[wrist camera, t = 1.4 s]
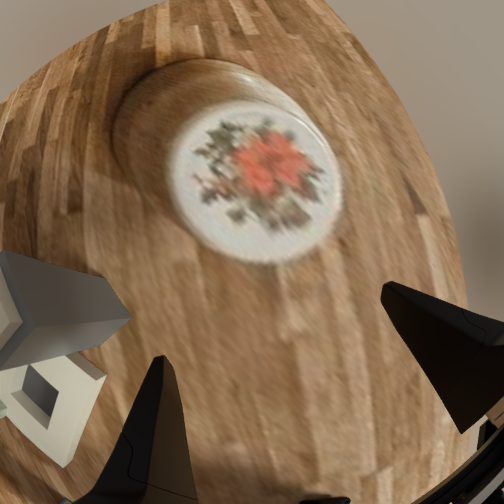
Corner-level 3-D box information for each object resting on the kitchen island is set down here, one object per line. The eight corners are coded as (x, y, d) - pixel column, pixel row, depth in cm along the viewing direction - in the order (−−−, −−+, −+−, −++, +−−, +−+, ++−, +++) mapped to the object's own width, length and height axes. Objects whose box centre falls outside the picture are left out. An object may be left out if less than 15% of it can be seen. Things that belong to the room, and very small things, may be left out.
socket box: (107, 374, 21) (87, 385, 17) (72, 459, 18) (56, 474, 14) (9, 285, 21) (-13, 281, 17) (-14, 373, 18) (-34, 377, 14)
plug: (132, 317, 22) (22, 327, 8) (100, 345, 21) (-14, 373, 7) (105, 278, 23) (-9, 244, 8) (75, 306, 22) (-43, 298, 7)
